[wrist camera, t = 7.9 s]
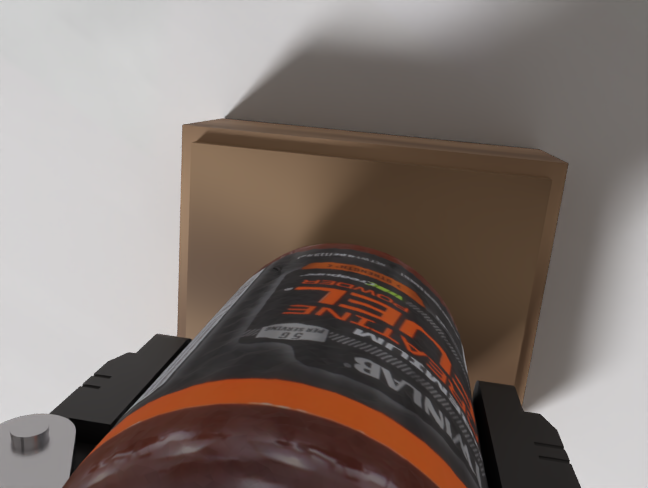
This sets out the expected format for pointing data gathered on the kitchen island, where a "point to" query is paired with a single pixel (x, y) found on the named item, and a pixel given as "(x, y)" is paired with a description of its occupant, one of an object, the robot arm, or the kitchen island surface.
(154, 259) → the kitchen island surface
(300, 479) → the supplement bottle
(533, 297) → the plinth
